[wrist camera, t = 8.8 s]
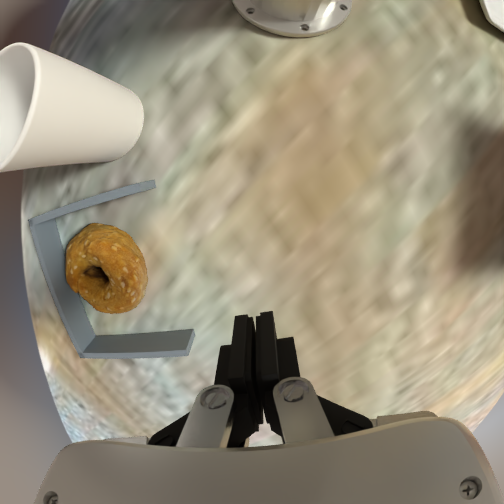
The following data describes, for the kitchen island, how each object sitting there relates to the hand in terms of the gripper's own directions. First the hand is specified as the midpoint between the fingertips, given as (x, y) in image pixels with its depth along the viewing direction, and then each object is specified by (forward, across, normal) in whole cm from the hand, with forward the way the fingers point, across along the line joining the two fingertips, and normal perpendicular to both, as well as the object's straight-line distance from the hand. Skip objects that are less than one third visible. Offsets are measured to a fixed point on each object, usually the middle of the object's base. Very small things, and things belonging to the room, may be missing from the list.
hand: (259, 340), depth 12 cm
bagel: (+16, +17, 0) cm, 24 cm away
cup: (+17, +13, -14) cm, 26 cm away
